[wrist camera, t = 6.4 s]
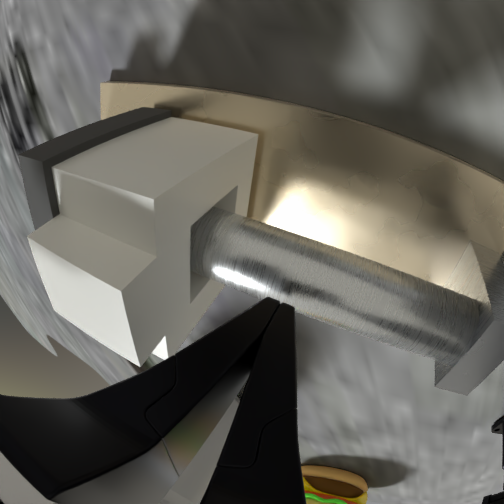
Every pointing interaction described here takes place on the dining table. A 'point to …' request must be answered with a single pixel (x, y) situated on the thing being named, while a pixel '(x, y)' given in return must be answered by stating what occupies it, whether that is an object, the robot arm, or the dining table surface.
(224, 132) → the bracket
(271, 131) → the beige mechanical fixture
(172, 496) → the can
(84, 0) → the dining table surface
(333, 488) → the hamburger
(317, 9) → the dining table surface
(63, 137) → the block
